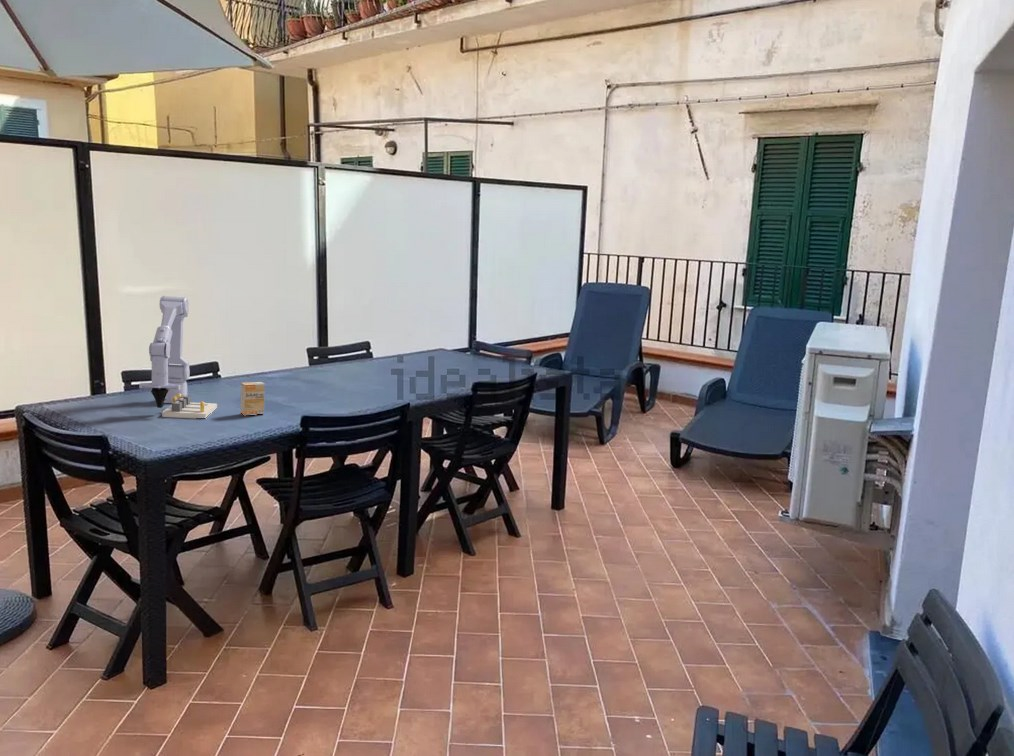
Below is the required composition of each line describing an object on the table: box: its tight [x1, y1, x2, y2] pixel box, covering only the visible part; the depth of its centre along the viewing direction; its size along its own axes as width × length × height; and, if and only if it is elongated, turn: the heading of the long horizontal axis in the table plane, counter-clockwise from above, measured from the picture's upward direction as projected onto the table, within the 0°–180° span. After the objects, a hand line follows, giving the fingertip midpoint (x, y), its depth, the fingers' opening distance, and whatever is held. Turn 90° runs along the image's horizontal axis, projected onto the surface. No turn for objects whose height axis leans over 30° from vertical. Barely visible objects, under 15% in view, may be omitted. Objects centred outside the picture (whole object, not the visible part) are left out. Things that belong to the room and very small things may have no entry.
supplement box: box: [239, 381, 266, 416], centre depth 301 cm, size 8×5×13 cm, turn 126°
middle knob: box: [176, 398, 186, 408], centre depth 297 cm, size 3×3×3 cm
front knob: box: [171, 401, 182, 411], centre depth 292 cm, size 3×3×3 cm
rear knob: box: [180, 394, 191, 405], centre depth 302 cm, size 3×3×3 cm
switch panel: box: [161, 394, 218, 419], centre depth 298 cm, size 17×16×6 cm
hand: (160, 407), depth 291 cm, fingers closed
